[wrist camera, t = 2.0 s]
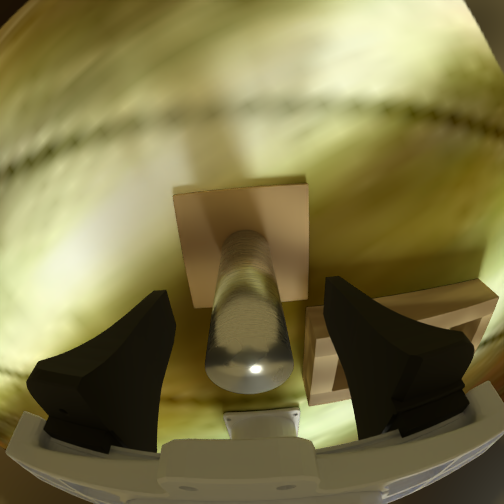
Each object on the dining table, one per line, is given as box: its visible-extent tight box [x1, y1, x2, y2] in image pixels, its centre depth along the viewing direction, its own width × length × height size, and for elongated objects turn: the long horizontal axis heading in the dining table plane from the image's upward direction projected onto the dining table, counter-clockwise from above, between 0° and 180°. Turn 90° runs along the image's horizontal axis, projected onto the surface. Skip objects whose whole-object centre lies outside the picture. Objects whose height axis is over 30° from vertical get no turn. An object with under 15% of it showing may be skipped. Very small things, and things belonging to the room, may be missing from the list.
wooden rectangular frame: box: [302, 279, 499, 406], centre depth 20 cm, size 8×18×4 cm, turn 94°
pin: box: [205, 229, 294, 394], centre depth 13 cm, size 3×3×10 cm
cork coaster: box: [173, 183, 309, 308], centre depth 18 cm, size 8×8×1 cm
